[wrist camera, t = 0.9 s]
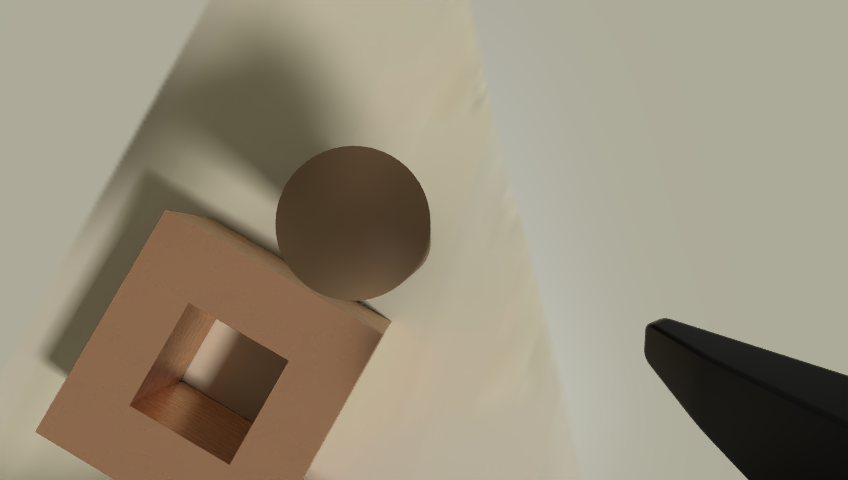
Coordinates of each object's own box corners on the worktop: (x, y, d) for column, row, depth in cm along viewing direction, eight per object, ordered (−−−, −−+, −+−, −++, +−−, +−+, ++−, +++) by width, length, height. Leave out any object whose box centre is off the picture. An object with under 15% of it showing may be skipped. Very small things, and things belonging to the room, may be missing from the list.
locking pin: (408, 290, 24) (381, 329, 11) (347, 255, 24) (247, 252, 11) (443, 228, 24) (458, 192, 11) (382, 194, 24) (324, 118, 11)
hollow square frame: (284, 510, 23) (254, 563, 19) (102, 402, 24) (35, 431, 20) (391, 321, 24) (383, 334, 20) (209, 217, 24) (165, 209, 20)
